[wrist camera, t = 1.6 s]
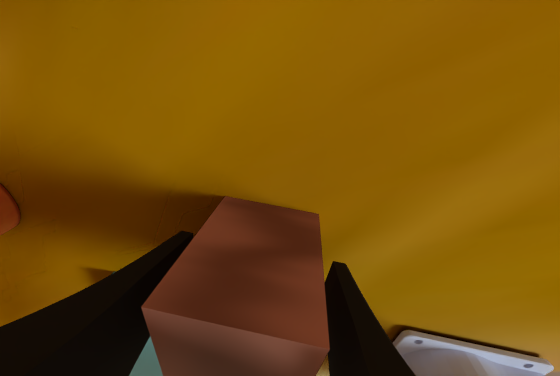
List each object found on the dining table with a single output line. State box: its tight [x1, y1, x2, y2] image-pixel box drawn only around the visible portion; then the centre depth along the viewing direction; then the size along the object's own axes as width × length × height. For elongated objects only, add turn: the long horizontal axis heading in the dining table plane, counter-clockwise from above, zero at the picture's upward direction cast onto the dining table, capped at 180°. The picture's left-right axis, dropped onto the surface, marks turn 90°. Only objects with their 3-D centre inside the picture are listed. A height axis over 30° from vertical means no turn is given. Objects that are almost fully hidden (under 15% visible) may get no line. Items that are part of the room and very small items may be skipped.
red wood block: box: [141, 196, 330, 376], centre depth 9 cm, size 5×5×6 cm
